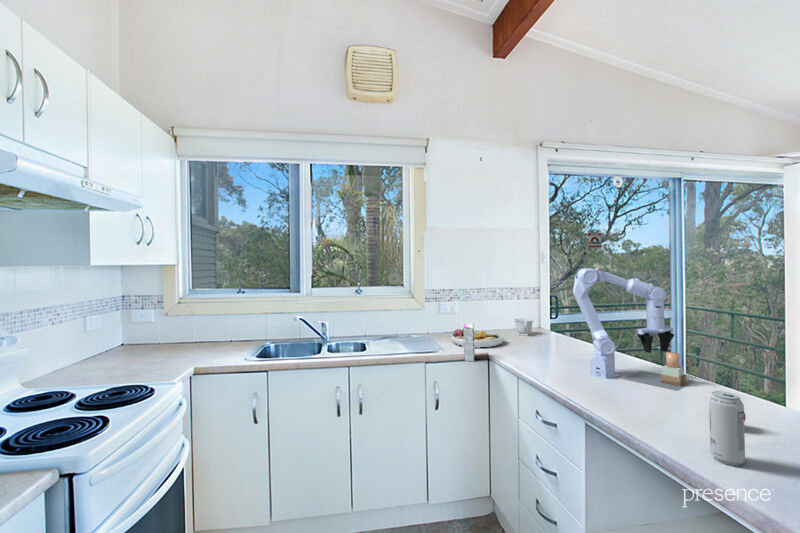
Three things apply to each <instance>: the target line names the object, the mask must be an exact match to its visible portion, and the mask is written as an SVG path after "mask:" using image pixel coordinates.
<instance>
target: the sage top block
mask: <svg viewBox="0 0 800 533" xmlns="http://www.w3.org/2000/svg"><path fill="white" fill-rule="evenodd" d="M684 368H685V367H684V366H681V365H680V368H670V367H667V366H666V364H665V365H663V366H662V374H663V375H668V376H673V377H678V378H679V377H681V376H683V375H685V369H684Z"/></svg>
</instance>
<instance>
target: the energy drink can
mask: <svg viewBox="0 0 800 533" xmlns="http://www.w3.org/2000/svg"><path fill="white" fill-rule="evenodd" d="M708 411H709V412H708V414H709V415H708V417H709V418H708V419H709V453H710V454H711V455H712V457H713V459H714V460H716V461H717V462H719V463H721V464H724V465H727V466H733V467H739V466H742V465H743V463H745V462H746V445H745V444H746V442H745V437H746V436H745V422H744V413H745V405H744V403H743V401H742V400H741V396H740V395H738V394H736V393H733V392H727V391H718V390H717V391H716V390H715V391H712V392H711V396H709V398H708Z"/></svg>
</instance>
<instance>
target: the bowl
mask: <svg viewBox="0 0 800 533" xmlns="http://www.w3.org/2000/svg"><path fill="white" fill-rule="evenodd" d="M450 338H451V341H452V342H453V344H454V345H456V344H458V345H462V346H464V329H460V328H457V329H455V330H454V331H453V333H452V334H451V335H450ZM503 342H504V335H503V334H501V333H499V332H494V331H484V330H474V347H490V346H495V347H497V346H496V345H498V346H500V345H501V344H502V343H503ZM499 344H500V345H499ZM458 345H457V346H458ZM462 346H461V347H462ZM490 348H491V347H490Z"/></svg>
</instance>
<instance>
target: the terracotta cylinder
mask: <svg viewBox="0 0 800 533" xmlns="http://www.w3.org/2000/svg"><path fill="white" fill-rule="evenodd" d="M665 358H666V360H665V362H666V363H665V365H666V366H667V367H670V368H680V366H681V364H680V361H681V360H680V353H678V352H675V351H667V352H666V354H665Z"/></svg>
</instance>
